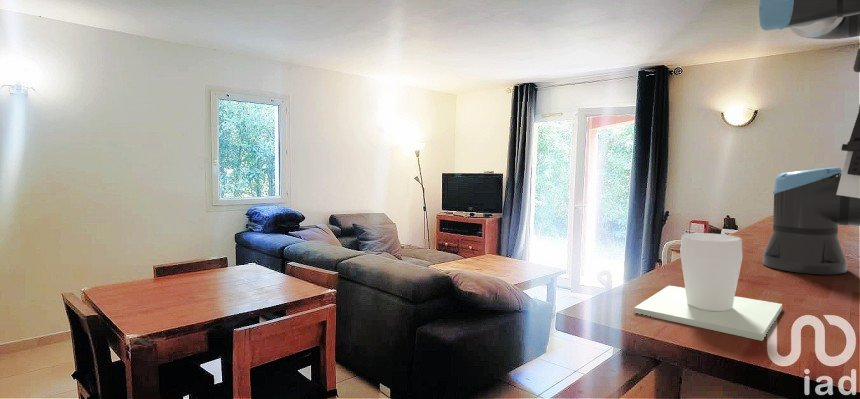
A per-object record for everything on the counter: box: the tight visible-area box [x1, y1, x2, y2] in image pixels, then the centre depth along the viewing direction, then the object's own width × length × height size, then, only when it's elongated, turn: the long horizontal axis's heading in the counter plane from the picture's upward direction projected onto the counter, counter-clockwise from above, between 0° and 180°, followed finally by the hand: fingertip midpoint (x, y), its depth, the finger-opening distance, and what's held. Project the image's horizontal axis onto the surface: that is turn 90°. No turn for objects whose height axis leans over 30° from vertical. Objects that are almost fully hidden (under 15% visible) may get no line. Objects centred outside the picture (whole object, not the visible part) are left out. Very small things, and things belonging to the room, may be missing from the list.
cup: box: [679, 232, 744, 311], centre depth 75 cm, size 9×9×12 cm
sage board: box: [633, 285, 783, 342], centre depth 76 cm, size 18×18×1 cm
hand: (855, 188), depth 68 cm, fingers open, 13 cm apart
